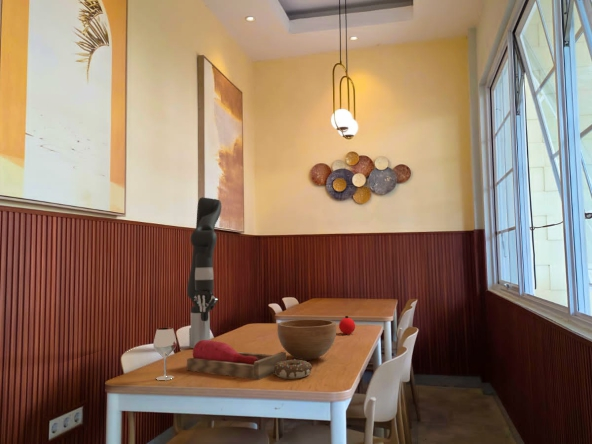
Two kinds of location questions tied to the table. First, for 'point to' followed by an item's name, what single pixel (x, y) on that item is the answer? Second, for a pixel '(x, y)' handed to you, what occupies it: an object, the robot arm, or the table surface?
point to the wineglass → (165, 346)
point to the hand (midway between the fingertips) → (204, 320)
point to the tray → (239, 366)
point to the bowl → (307, 337)
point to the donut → (292, 369)
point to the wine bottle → (220, 352)
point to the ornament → (347, 325)
